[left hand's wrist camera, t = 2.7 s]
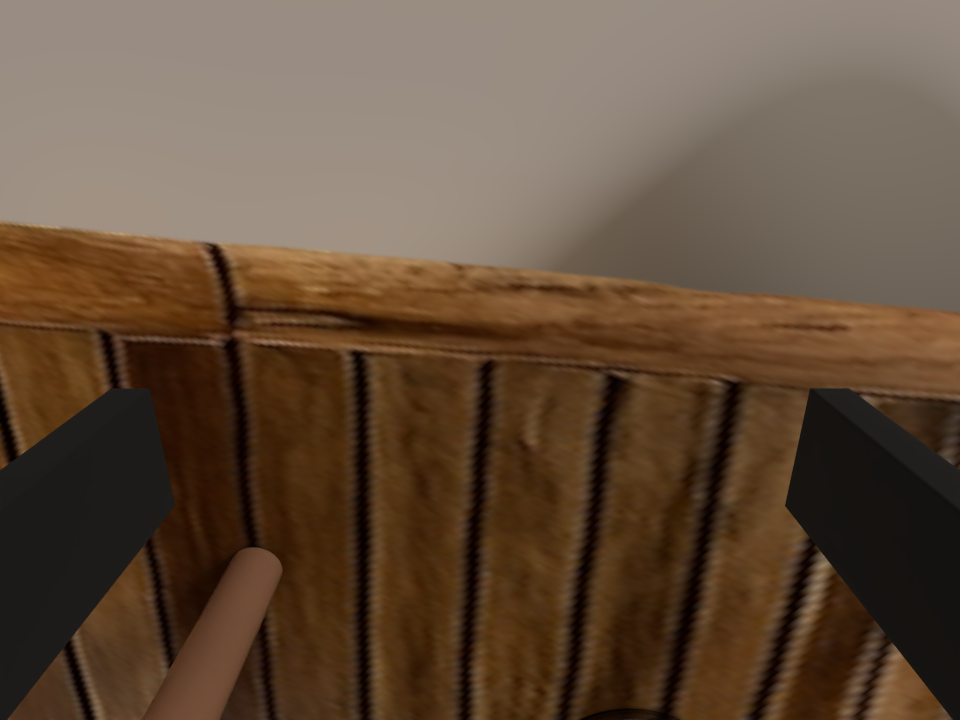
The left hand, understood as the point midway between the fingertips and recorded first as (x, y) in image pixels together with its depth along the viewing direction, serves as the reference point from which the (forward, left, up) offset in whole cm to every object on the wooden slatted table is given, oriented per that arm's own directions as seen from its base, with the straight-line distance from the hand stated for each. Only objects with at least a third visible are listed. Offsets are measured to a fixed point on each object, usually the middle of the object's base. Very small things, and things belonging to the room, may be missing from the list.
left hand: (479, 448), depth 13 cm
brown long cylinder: (-27, +18, -28) cm, 42 cm away
